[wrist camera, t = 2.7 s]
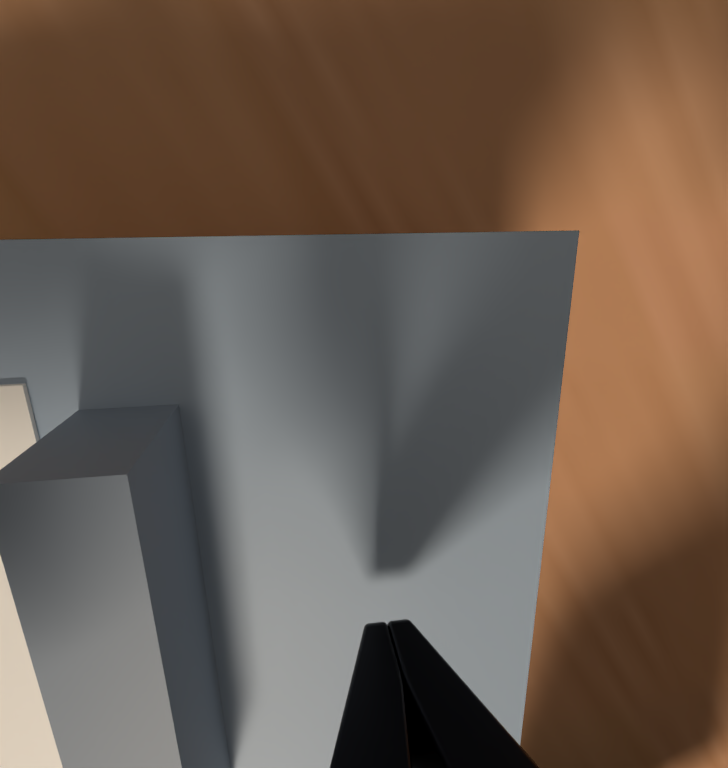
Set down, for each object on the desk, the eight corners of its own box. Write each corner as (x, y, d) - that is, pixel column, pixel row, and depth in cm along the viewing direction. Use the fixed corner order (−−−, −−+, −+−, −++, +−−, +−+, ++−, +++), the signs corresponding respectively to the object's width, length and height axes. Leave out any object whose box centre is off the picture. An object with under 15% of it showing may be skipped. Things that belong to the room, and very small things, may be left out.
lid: (501, 780, 13) (564, 947, 10) (-121, 881, 11) (-282, 1125, 8) (557, 231, 9) (698, 226, 6) (-445, 247, 7) (-1055, 253, 4)
